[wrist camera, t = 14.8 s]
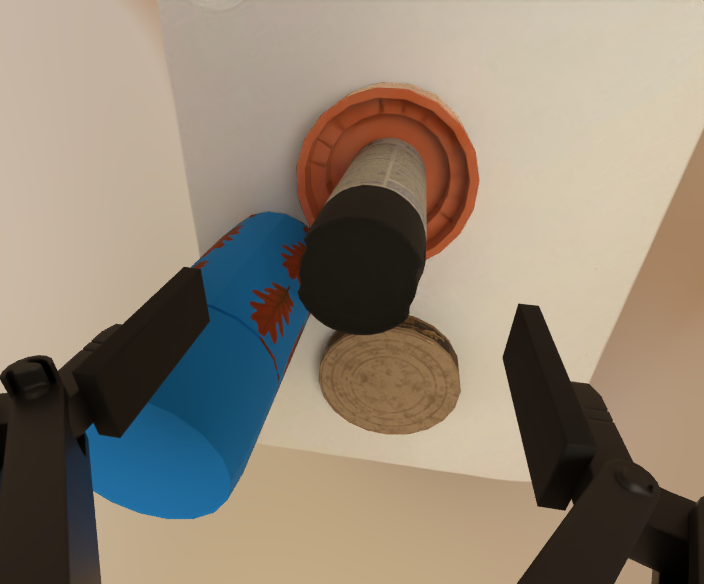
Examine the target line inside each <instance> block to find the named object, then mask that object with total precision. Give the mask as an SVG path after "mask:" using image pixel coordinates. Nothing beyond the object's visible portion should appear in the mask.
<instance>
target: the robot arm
mask: <svg viewBox="0 0 704 584" xmlns="http://www.w3.org/2000/svg"><path fill="white" fill-rule="evenodd" d="M209 322H210V317H209V312H208V306H207V300H206V295H205V289H204V284H203V278H202V273H201V269H198V268H189V267H183V268H182V269H181V270H180V271H179V272H178V273H177V274H176V275H175V276H174V277H173V278H172V279H171V280H169V281H168V282H167V283H166V284H165V285H164V286H163V287H162V288H161V289H160V290H159V291H158V292H157V293H156V294H154V296H152V297H151V298H150V299H149V300H148V301H147V302H146V303H145V304H144V305H143V306H142V307H141V308H140V309H138V310H137V311H136V312H135V313H134V314H133V315H132V316H131V317H130V318H129V319H128V320H127V321H126V322H125V323H124V324H123V325H121V324H115V325H113V326H111V327H109V328H107V329H105V330H104V331H102V332H101V333H100V334H98V335H97V336H96V337H95V338H94V339H93V340H92V342H91V343H89V344H87V345H86V346H85V347H84V348H83V350H81V351H80V352H78V354H76V355H75V356H74V357H73V358H72V359H71V360H70V361H68V362H67V363H66V364H65V365H64V366H63V367H62V368H61V369H59V370H58V371H57V369H56V367H55V364H54V362H53V360H52V358H50V357H48V356H41V355H37V356H32V357H27V358H24V359H21V360H18V361H16V362H15V363H13V364H11V365H9V366H8V367H7V368H6V369H5V370H4V371H3V372H2V373H1V375H0V380H1V382H2V384H3V385H4V387H5V389H6V391H7V393H2V394H0V584H101V575H100V564H99V553H98V542H97V530H96V519H95V508H94V497H93V485H92V474H91V463H90V452H89V441H88V437H87V435H86V430H87V429H88V428H89V427H90V426H91V425H92V424H93V423H94V425H95V428H96V430H97V432H98V434H99V435H102V436H109V437H115V438H121V437H122V435H123V434H124V433H125V432H126V430H127V429H128V428H129V426H130V425H131V424H132V422H133V421H134V420H135V418H136V417H137V416H138V415H139V413H140V412H141V411H142V409H143V408H144V407H145V405H146V404H147V403H148V402H149V400H150V399H151V398H152V396H153V395H154V394H155V392H156V391H157V390H158V389H159V387H160V386H161V385H162V383H163V382H164V381H165V379H166V378H167V377H168V376H169V374H170V373H171V372H172V370H173V369H174V368H175V366H176V365H177V364H178V363H179V361H180V360H181V359H182V357H183V356H184V355H185V353H186V352H187V351H188V350H189V348H190V347H191V346H192V344H193V343H194V342H195V340H196V339H197V338H198V337H199V335H200V334H201V333H202V331H203V330H204V329H205V327H206V326H207V325H208V324H209ZM503 362H504V366H505V370H506V375H507V379H508V383H509V387H510V392H511V396H512V400H513V404H514V409H515V413H516V417H517V421H518V426H519V430H520V434H521V438H522V442H523V447H524V451H525V455H526V459H527V464H528V468H529V472H530V476H531V481H532V485H533V489H534V493H535V498H536V502H537V506H539V507H546V508H552V509H558V510H564V511H565V510H566V508H567V506H568V504H569V502H570V501H571V499H572V502H573V504H574V506H573V507H572V509H571V510H570V511H569V513H568V514H567V516H566V517H565V518H564V520H563V521H562V522H561V524H560V525H559V527H558V528H557V529H556V531H555V532H554V534H553V535H552V536H551V538H550V539H549V540H548V542H547V543H546V544H545V546H544V547H543V548H542V550H541V551H540V553H539V554H538V556H537V557H536V558H535V560H534V561H533V562H532V564H531V565H530V567H529V568H528V569H527V571H526V572H525V573H524V575H523V576H522V577H521V579H520V580H519V581H518V583H517V584H614V583H615V581H616V579H617V577H618V576H619V574H620V572H621V570H622V568H623V566H624V565H625V563H626V560H627V559H628V558H629V559H632V560H634V561H636V562H638V563H640V564H642V565H644V566H647V567H649V568H651V569H653V570H652V584H704V496H703V497H701V498H700V499H699V500H698V502H694V501H692V500H689V499H686V498H684V497H682V496H678V495H676V494H674V493H671V492H669V491H667V490H665V489H662V488H661V487H659V485H658V483H657V481H656V480H655V479H654V477H653V476H652V475H651V474H650V473H649V472H648V471H646V470H645V469H644V468H643V467H641V466H639V465H637V464H635V463H634V462H633V461H632V459H631V456H630V455H629V452H628V450H627V448H626V446H625V444H624V442H623V440H622V438H621V436H620V434H619V432H618V430H617V428H616V426H615V424H614V423H613V422H612V421H613V420H612V418H611V415H610V413H609V412H607V407H606V405H605V403H604V401H603V399H602V397H601V396H600V395H599V394H598V392H597V391H596V390H595V389H593V388H592V387H591V385H590V384H587V383H579V382H571V381H570V379H569V377H568V375H567V372H566V370H565V367H564V365H563V363H562V360H561V358H560V355H559V353H558V351H557V348H556V346H555V343H554V341H553V339H552V336H551V334H550V331H549V329H548V327H547V324H546V322H545V319H544V317H543V315H542V312H541V310H540V308H539V306H535V305H526V304H518V307H517V310H516V314H515V317H514V321H513V324H512V327H511V331H510V334H509V337H508V341H507V344H506V348H505V351H504V354H503Z"/></svg>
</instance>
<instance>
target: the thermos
mask: <svg viewBox="0 0 704 584" xmlns="http://www.w3.org/2000/svg"><path fill="white" fill-rule="evenodd" d="M308 231H309V228H308V227H307V226H306V225H305V224H304V223H302V222H300V221H298V220H296V219H294V218H292V217H290V216H288V215H286V214H281V213H274V212H264V213H260V214H255V215H251V216H250V217H248V218H247V219H246V220H244V221H243V222H241V223H240V224H238V225H237V226H236V227H235V228H233V229H232V230H231V231H230V232H228V233H227V234H226V235H224V236H223V237H222V238H221V239H220V240H219V241H218V242H217V243H216V244H215V245H213V246H212V247H211V248H210V249H209V250H208V251H207V252H206V253H205V254H204V255H203V256H202V257H201V258H200V259H199V260H198V261H197V262H196V263H195V264H194V265H193V266H192V267H191V268H198V269H201V273H202V278H203V284H204V289H205V295H206V300H207V306H208V312H209V317H210V322H209V324H208V325H207V326H206V327H205V329H204V330H203V331H202V333H201V334H200V335H199V337H198V338H197V339H196V340H195V342H194V343H193V344H192V346H191V347H190V348H189V350H188V351H187V352H186V353H185V355H184V356H183V357H182V359H181V360H180V361H179V363H178V364H177V365H176V366H175V368H174V369H173V370H172V372H171V373H170V374H169V376H168V377H167V378H166V379H165V381H164V382H163V383H162V385H161V386H160V387H159V389H158V390H157V391H156V392H155V394H154V395H153V396H152V398H151V399H150V400H149V402H148V403H147V404H146V405H145V407H144V408H143V409H142V411H141V412H140V413H139V415H138V416H137V417H136V418H135V420H134V421H133V422H132V424H131V425H130V426H129V428H128V429H127V430H126V432H125V433H124V434H123V435H122V437H121V438H115V437H109V436H102V435H99V434H98V432H97V430H96V428H95V425H94V423H93V424H92V425H91V426H90V427H89V428H88V429H87V430H86V435H87V437H88V441H89V452H90V463H91V474H92V485H93V491H94V492H96V493H98V494H99V495H101V496H102V497H104V498H106V499H107V500H109V501H111V502H113V503H116V504H118V505H120V506H123V507H125V508H128V509H130V510H133V511H136V512H138V513H141V514H146V515H151V516H156V517H161V518H166V519H195V518H198V517H201V516H204V515H207V514H211V513H214V512H215V511H216V510H217V509H218V508H219V507H220V506H221V505H223V504H224V503H225V502H226V501H227V500H228V498H229V496H230V494H231V493H232V491H233V489H234V488H235V486H236V484H237V482H238V481H239V479H240V477H241V476H242V474H243V472H244V469H245V467H246V465H247V462H248V460H249V458H250V455H251V453H252V451H253V448H254V446H255V443H256V441H257V439H258V436H259V434H260V432H261V429H262V427H263V424H264V422H265V420H266V417H267V415H268V413H269V410H270V408H271V405H272V403H273V401H274V398H275V396H276V394H277V391H278V389H279V386H280V384H281V382H282V379H283V377H284V375H285V372H286V370H287V367H288V365H289V363H290V360H291V358H292V356H293V353H294V351H295V348H296V346H297V344H298V341H299V339H300V337H301V334H302V332H303V329H304V327H305V325H306V322H307V320H308V318H309V315H310V312H309V311H307V310H306V308H305V307H304V305H303V303H302V302H301V301H300V299H299V296H298V290H299V288H300V285H301V284H300V276H299V271H300V263H301V258H302V256H303V254H304V251H305V248H306V244H305V242H304V240H303V239H304V238H305V236H306V234H307V232H308Z"/></svg>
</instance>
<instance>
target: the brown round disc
mask: <svg viewBox="0 0 704 584" xmlns="http://www.w3.org/2000/svg"><path fill="white" fill-rule="evenodd" d="M319 383H320V386H321V390H322V393H323V396H324V398H325V399H326V400H327V402H328V403H329V405H330V406H331V407H332V409H333V410H334V411H335V412H336V413H338V414H339V415H340V416H342V417H343V418H344V419H346V420H347V421H348V422H350V423H352V424H354V425H356V426H359V427H361V428H363V429H365V430H368V431H373V432H378V433H383V434H411V433H415V432H419V431H423V430H427V429H429V428H430V427H432V426H434V425H436V424H438V423H439V422H441V421H443V420H444V419H445V418H446V417H447V416H448V415H449V414H450V412H451V411H452V410H453V409H454V408H455V406H456V403H457V400H458V398H459V395H460V392H461V390H460V379H459V369H458V359H457V355H456V353H455V351H454V349H453V347H452V346H451V344H450V342H449V340H448V339H447V338H446V337H445V336H444V335H443V334H441V333H440V332H439V331H438V330H437V329H436V328H435V327H434V326H432V325H430V324H428V323H426V322H424V321H422V320H420V319H418V318H415V317H413V316H408V318H407V319H406V320H405V321H404V322H403V323H401V324H400V325H398V326H397V327H395V328H393V329H391V330H388V331H386V332H384V333H379V334H374V335H353V334H347V333H343V332H340V331H336V332H335V333H334V334H333V336H332V338H331V340H330V341H329V343H328V345H327V347H326V349H325V352H324V355H323V358H322V361H321V364H320V374H319Z"/></svg>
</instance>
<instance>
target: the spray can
mask: <svg viewBox="0 0 704 584" xmlns="http://www.w3.org/2000/svg"><path fill="white" fill-rule="evenodd" d="M303 240H304V242H305V244H306V248H305V251H304V254H303V256H302V258H301V263H300V271H299V276H300V284H301V285H300V288H299V290H298V296H299V299H300V301H301V302H302V303H303V305H304V307H305V308H306V310H307V311H309V312H310V313H311V314H312V315H313V316H314V317H315V318H316V319H318V320H319V321H320V322H322V323H323V324H324V325H325V326H328V327H330V328H332V329H334V330H337V331H340V332H343V333H347V334H353V335H374V334H379V333H384V332H386V331H388V330H391V329H393V328H395V327H397V326H398V325H400V324H401V323H403V322H404V321H405V320H406V319H407V318H408V315H409V308H410V305H411V303H412V301H413V299H414V297H415V294H416V290H417V286H418V282H419V280H420V278H421V275H422V273H423V270H424V266H425V261H426V241H427V218H426V168H425V164H424V161H423V159H422V157H421V156H420V154H419V153H418V151H417V150H416V149H415V148H414V147H413V146H412V145H410V144H409V143H407V142H405V141H403V140H400V139H397V138H381V139H377V140H374V141H372V142H370V143H369V144H367V145H366V146H364V147H363V148H362V149H361V150H360V151H359V153H358V154H357V155H356V157H355V158H354V160H353V161H352V163H351V164H350V166H349V168H348V169H347V171H346V172H345V174H344V175H343V177H342V178H341V180H340V182H339V183H338V185H337V186H336V188H335V189H334V191H333V192H332V194H331V195H330V197H329V198H328V200H327V201H326V203H325V205H324V206H323V208H322V209H321V211H320V212H319V214H318V216H317V217H316V219H315V221H314V222H313V224H312V226H311V227H310V229H309V231H308V232H307V234H306V236H305V238H304V239H303Z"/></svg>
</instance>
